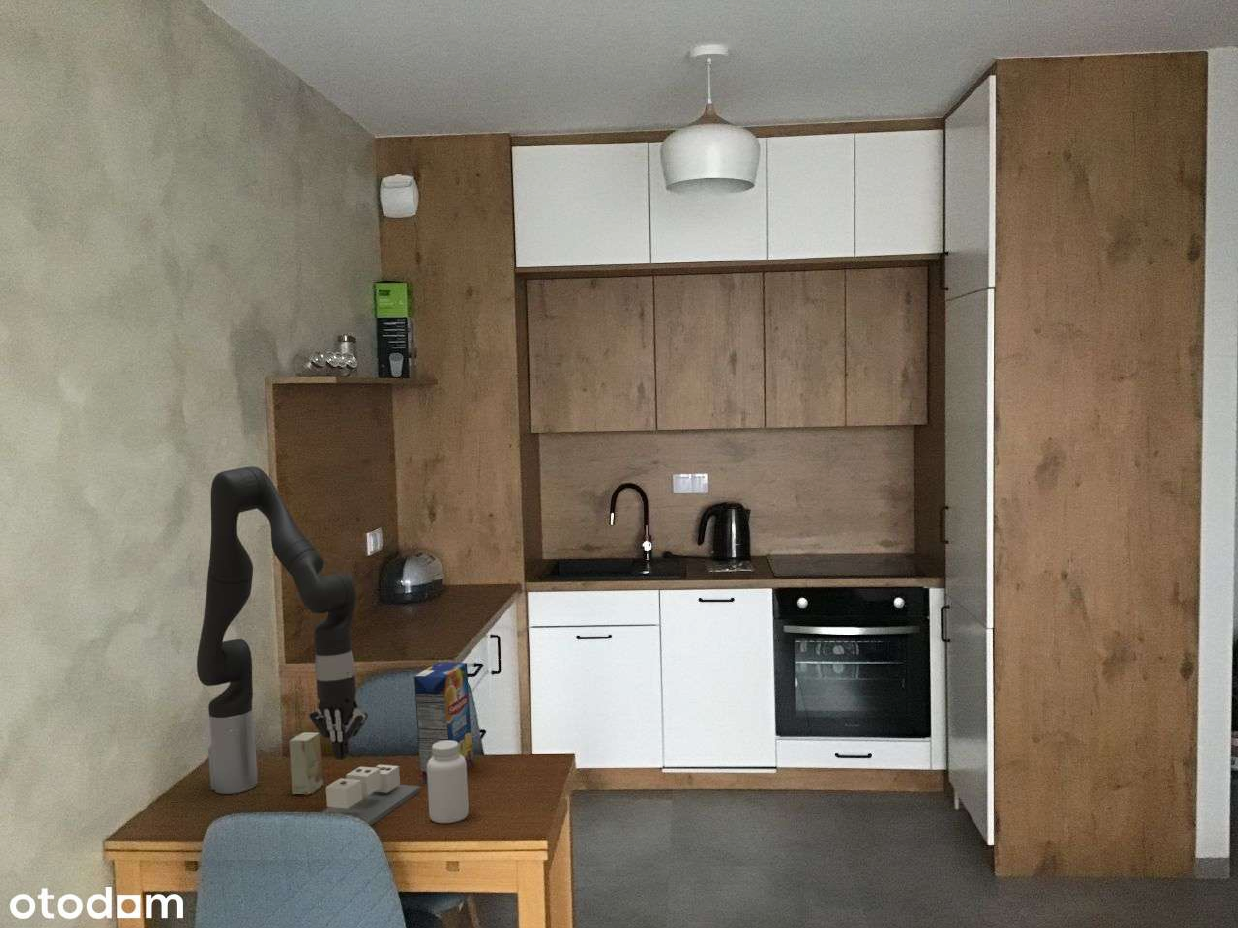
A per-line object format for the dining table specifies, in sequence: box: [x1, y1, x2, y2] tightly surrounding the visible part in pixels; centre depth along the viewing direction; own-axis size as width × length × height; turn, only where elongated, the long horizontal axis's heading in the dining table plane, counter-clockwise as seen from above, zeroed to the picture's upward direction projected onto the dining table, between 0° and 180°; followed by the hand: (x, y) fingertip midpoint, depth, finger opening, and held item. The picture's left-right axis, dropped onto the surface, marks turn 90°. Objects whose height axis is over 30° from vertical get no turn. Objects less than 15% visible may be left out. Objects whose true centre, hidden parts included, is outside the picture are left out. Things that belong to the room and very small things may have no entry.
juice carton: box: [413, 662, 474, 784], centre depth 234 cm, size 12×8×24 cm, turn 164°
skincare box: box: [289, 731, 324, 795], centre depth 229 cm, size 6×4×12 cm
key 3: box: [373, 764, 401, 793], centre depth 223 cm, size 5×5×4 cm
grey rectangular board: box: [321, 784, 421, 826], centre depth 217 cm, size 13×22×1 cm, turn 160°
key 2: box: [345, 766, 381, 796], centre depth 216 cm, size 5×5×4 cm
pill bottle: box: [427, 740, 470, 824], centre depth 209 cm, size 8×8×15 cm
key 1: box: [325, 778, 362, 809], centre depth 210 cm, size 5×5×4 cm
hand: (341, 758), depth 209 cm, fingers closed
